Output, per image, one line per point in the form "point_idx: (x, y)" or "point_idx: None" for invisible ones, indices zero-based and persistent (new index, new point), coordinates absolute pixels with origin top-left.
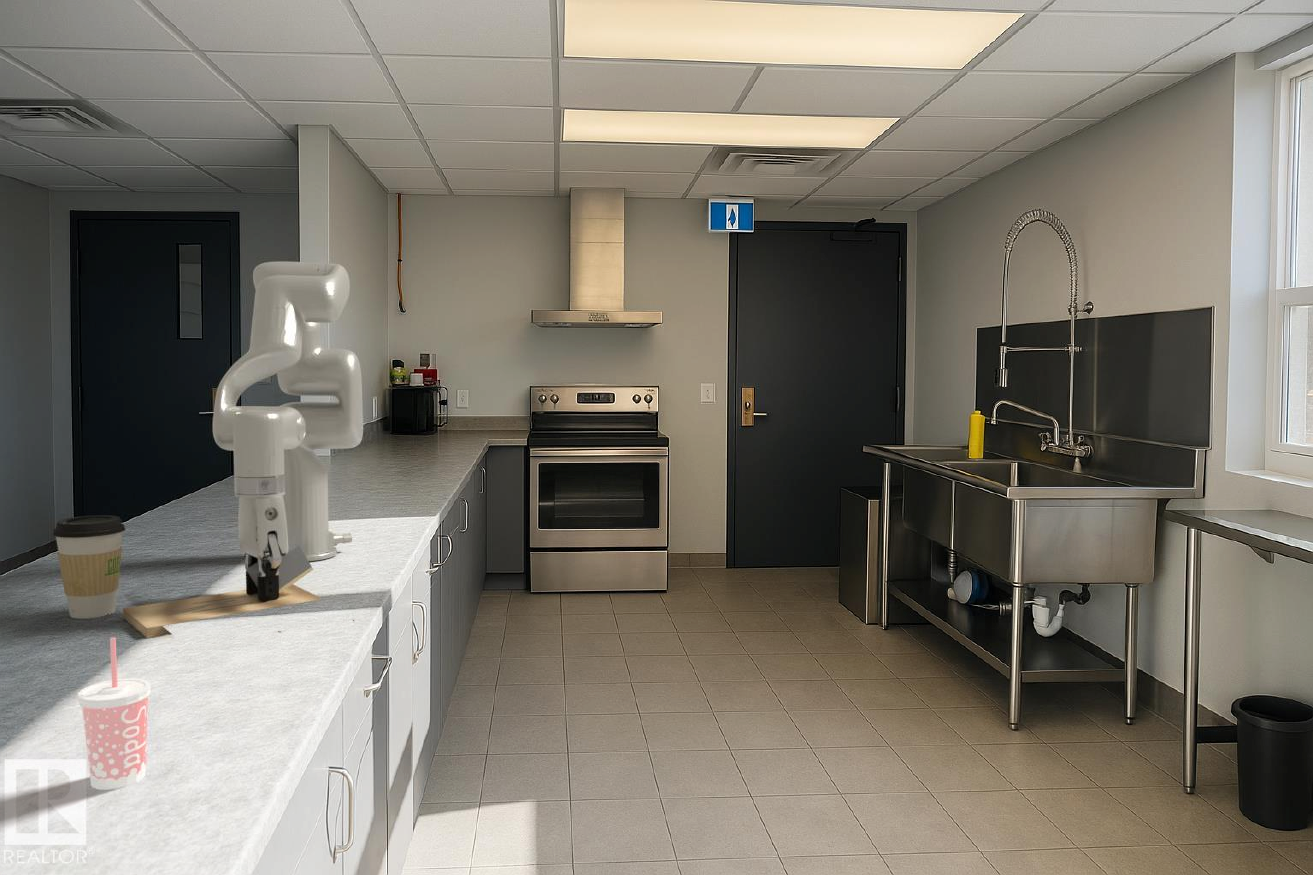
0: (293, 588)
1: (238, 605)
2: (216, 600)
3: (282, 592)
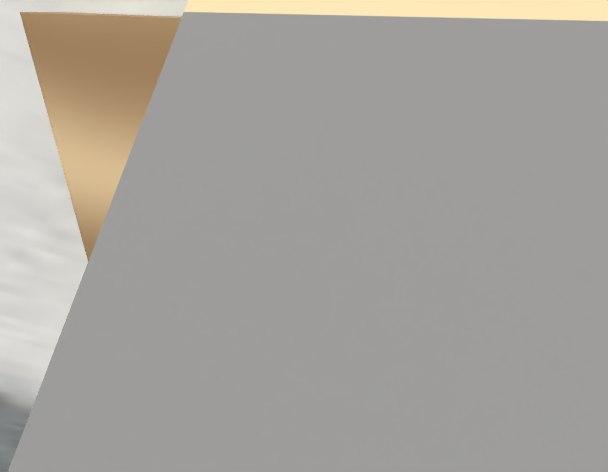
0: None
1: None
2: None
3: None
